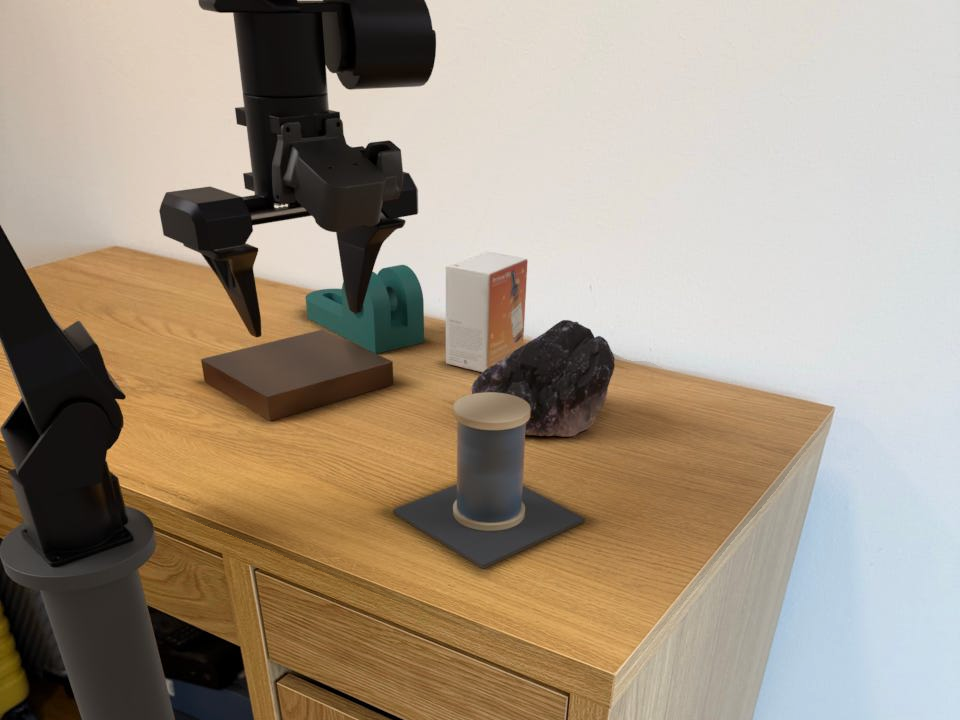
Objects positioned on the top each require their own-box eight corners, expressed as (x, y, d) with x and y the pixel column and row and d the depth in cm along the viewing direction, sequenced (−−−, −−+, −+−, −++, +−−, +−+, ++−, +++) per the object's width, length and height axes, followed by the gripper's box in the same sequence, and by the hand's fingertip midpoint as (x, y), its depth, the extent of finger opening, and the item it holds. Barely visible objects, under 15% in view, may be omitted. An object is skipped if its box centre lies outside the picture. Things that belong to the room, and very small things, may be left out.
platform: (270, 421, 88) (266, 396, 86) (204, 382, 96) (200, 358, 94) (393, 384, 96) (392, 361, 95) (324, 351, 104) (322, 329, 102)
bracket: (424, 342, 107) (423, 272, 102) (375, 353, 103) (372, 281, 99) (343, 303, 118) (339, 238, 113) (297, 312, 114) (290, 246, 110)
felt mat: (483, 569, 67) (483, 564, 67) (392, 513, 74) (392, 509, 74) (584, 521, 73) (585, 517, 73) (492, 474, 80) (492, 470, 80)
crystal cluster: (447, 411, 92) (444, 316, 86) (552, 374, 98) (557, 282, 91) (527, 470, 84) (530, 370, 78) (636, 426, 90) (648, 329, 83)
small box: (486, 375, 99) (489, 274, 92) (444, 364, 101) (443, 265, 95) (524, 354, 104) (529, 257, 98) (483, 344, 106) (485, 249, 100)
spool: (441, 522, 72) (440, 414, 67) (469, 490, 76) (470, 387, 71) (510, 537, 70) (514, 428, 65) (534, 504, 75) (541, 399, 69)
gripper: (221, 118, 52) (256, 381, 62) (466, 96, 62) (464, 325, 72) (135, 97, 59) (178, 338, 68) (369, 80, 69) (379, 292, 78)
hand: (307, 323), depth 71 cm, fingers open, 9 cm apart
